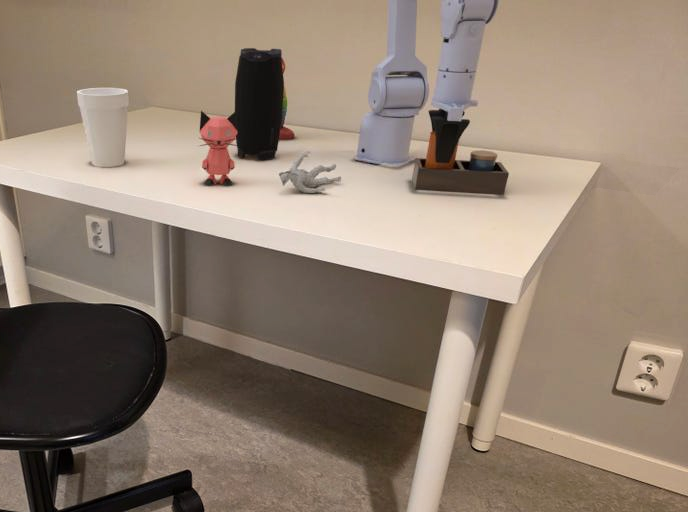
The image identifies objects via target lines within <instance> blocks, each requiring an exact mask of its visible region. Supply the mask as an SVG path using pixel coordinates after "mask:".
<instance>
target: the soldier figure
mask: <svg viewBox="0 0 688 512" xmlns="http://www.w3.org/2000/svg"><path fill="white" fill-rule="evenodd" d="M311 153H312V152H311V151H310V150H308V151H305V152H304V153H302V155H300V156H299V157H298V158H297V159H296V160H295V161H294V163H293V164H292V166H291V167H290V168H289V169H288V170H286V171H283V172H282V171H281V172H279V173H278V176H279V178H280V181H281V183H282V185H283V187H285V185H286V184H287V183H288V182H289V181H290V183H292V185H293V187H294V188H296V189H297V190H299V191H300V192H302V193H304V194H316V193H320V194H322V193H323V192H325V191H326V188H325V187H321V186H323V185H329V184H331V183H334V182H340V181H342V176H336V177H332V178H329V177H327V176H322V177H320V178H317V176H319V174H321V173H324V172H325V173H331V172H332V171H334V170H336V168H337V164H336V163H333V164H332V165H330V166H323V165H322V164H319V165H318V166H316V167H313V168H312V169H311V170H310V171H307V170H306V169H304V168H303V169H299V167H300V166H301V164H302V162H303V160H304V158H308V157H310V156H309V155H308V154H311ZM316 187H317V188H316Z"/></svg>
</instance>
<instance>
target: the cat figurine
mask: <svg viewBox="0 0 688 512" xmlns="http://www.w3.org/2000/svg"><path fill="white" fill-rule="evenodd" d="M237 133H238V126H237V111H235V110H234V112H233V113H232V114H230V115H229V116H228V117H227V118H226V117H223V116H213V117H209V116H208V115H207V114H206V113H205V112H204V111H203V110H200V120H199V134H200V137H199V139H200V140H202V141H203V142H204V143H205V144H199V145H198V146H200V147H202V146H208V147H209V149H208V152H207V155H206V157H205V159H204V160H202V165H201V168H202V169H203V170H204V171H205V172H206V173H207V174H208V176H207V178H206V179H205V180H204V182H203V185H204V186H214V185H216V184H217V183H218V181H217V178H216V176H221V177H220V179H219V183H220V184H221V185H222V186H232V185H233V182H232V180H231V178H230V177H229V176H228V175H229V174H230V172H231V171H233V170H234V169H235V168H236V165H235V161H234V160H233V159H232V158H231V155H230V152H229V150H228V147H229V146H236V147H237V146H239V145H237V144H234V143H233V142H234V141H235V140H236V139H238V138H236V135H237ZM232 143H233V144H232Z"/></svg>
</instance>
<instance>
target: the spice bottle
mask: <svg viewBox="0 0 688 512" xmlns="http://www.w3.org/2000/svg"><path fill="white" fill-rule="evenodd" d="M459 143H460V140H459V141H458V143H457V145H456V148H455V150H454V153H453V155H452V158H451V160H450V162H449V163H436V160H435V144H436V137H435V131H433V132H432V131H431V132H430V135H429V139H428V145H427V151H426V163H425V168H438V169H453V168H454V163H455V160H456V157H457V154H458V153H457V152H458V148H459V147H458V146H459Z"/></svg>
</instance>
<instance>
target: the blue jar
mask: <svg viewBox="0 0 688 512" xmlns="http://www.w3.org/2000/svg"><path fill="white" fill-rule="evenodd" d="M498 156H499V154H498V153H497V152H494V151H490V150H472V151H470V154H469V160H468V161H469V166H468V170H477V171H493V170H494V166H495V162H497V159H498Z"/></svg>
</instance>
